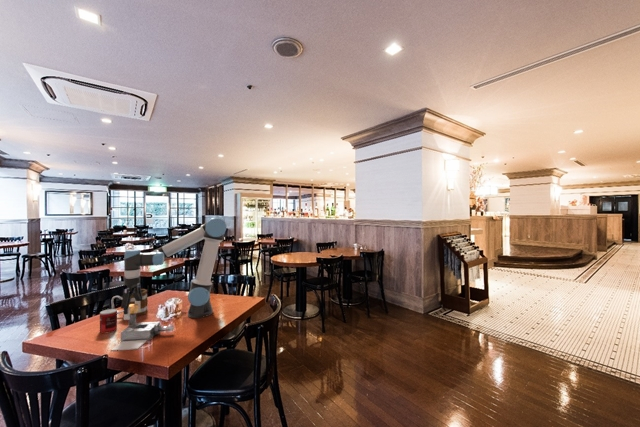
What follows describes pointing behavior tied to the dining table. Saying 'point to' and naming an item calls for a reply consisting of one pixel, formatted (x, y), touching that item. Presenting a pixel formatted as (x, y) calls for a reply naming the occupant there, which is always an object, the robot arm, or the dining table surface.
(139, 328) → the block
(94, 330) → the dining table surface
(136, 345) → the rest mat
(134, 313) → the key
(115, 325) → the canned food
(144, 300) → the mug
